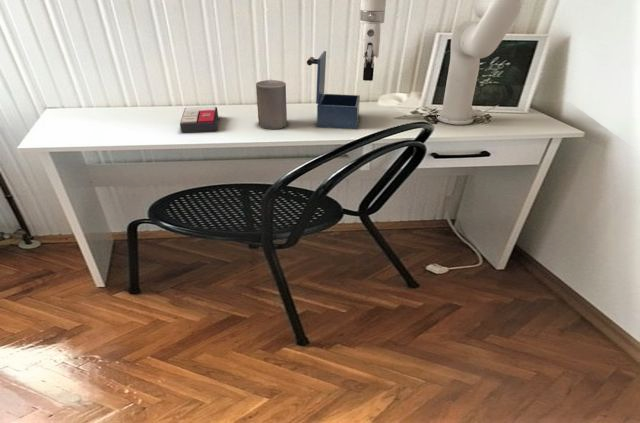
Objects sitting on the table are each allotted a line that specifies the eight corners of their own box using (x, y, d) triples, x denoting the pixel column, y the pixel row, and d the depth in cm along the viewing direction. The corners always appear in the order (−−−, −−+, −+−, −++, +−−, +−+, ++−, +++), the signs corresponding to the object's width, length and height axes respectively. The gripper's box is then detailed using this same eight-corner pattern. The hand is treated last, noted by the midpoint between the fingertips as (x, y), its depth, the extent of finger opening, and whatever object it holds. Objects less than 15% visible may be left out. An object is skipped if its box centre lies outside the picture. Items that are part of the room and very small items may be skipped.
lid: (326, 51, 138) (311, 50, 138) (320, 59, 125) (304, 57, 126) (324, 92, 145) (310, 91, 145) (318, 103, 132) (303, 102, 133)
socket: (373, 78, 134) (374, 62, 132) (372, 80, 132) (374, 64, 129) (363, 77, 135) (364, 61, 132) (362, 80, 132) (363, 63, 129)
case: (358, 115, 147) (359, 95, 143) (356, 129, 135) (357, 107, 131) (322, 113, 149) (323, 93, 145) (317, 126, 136) (317, 105, 133)
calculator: (179, 121, 128) (184, 105, 140) (181, 134, 130) (186, 117, 143) (214, 120, 130) (216, 104, 142) (216, 133, 132) (218, 116, 144)
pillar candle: (252, 125, 137) (248, 79, 129) (272, 118, 144) (270, 74, 136) (273, 131, 132) (271, 84, 124) (293, 123, 139) (292, 78, 131)
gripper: (384, 20, 116) (379, 85, 126) (384, 14, 130) (379, 74, 140) (358, 19, 117) (355, 84, 127) (361, 14, 131) (357, 73, 141)
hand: (368, 78), depth 133 cm, fingers closed on socket, 3 cm apart
